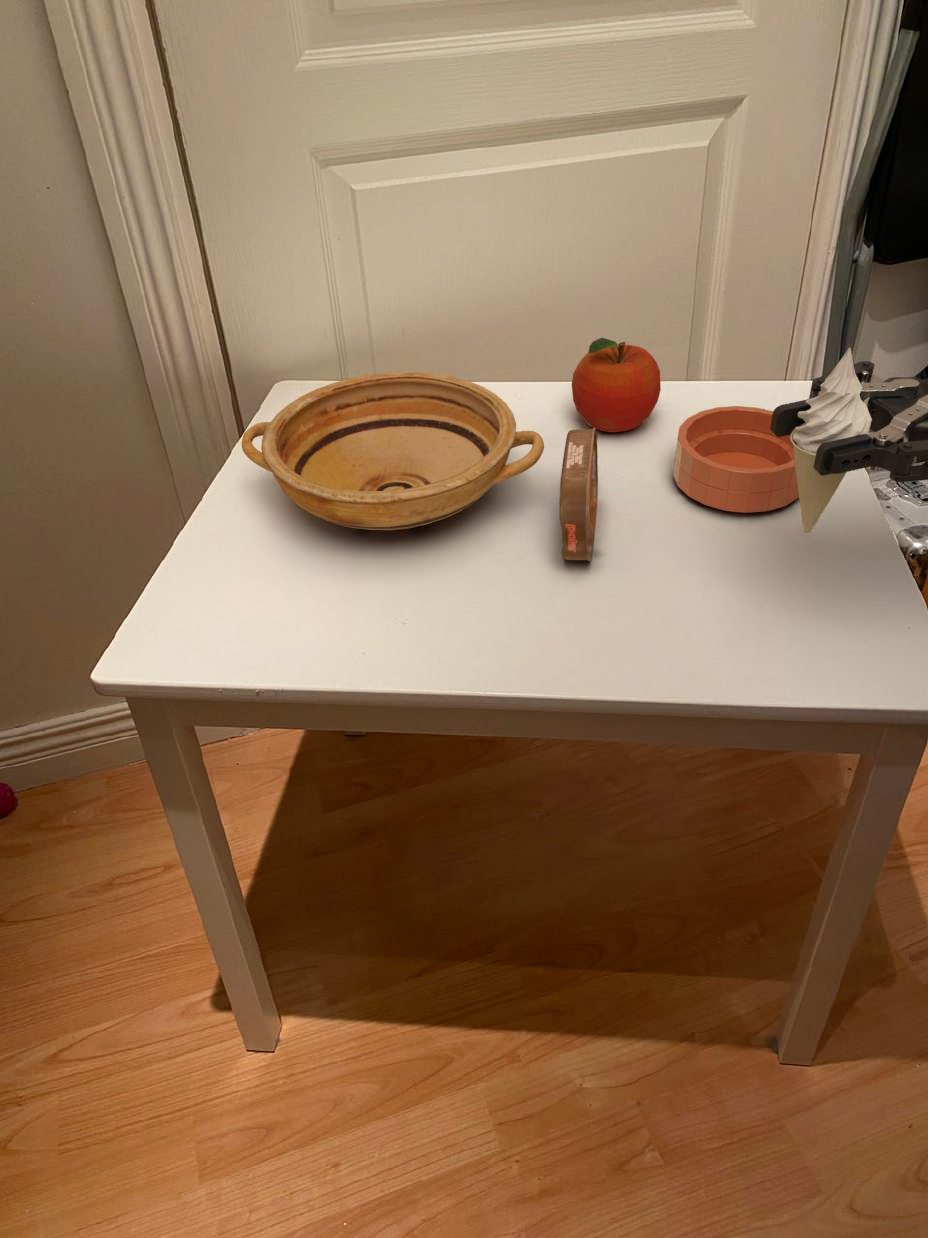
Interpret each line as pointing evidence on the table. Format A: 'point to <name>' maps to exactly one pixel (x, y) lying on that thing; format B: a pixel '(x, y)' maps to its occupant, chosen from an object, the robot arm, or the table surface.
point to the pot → (735, 460)
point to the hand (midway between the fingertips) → (796, 441)
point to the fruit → (615, 386)
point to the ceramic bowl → (391, 449)
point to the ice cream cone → (827, 436)
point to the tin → (579, 494)
